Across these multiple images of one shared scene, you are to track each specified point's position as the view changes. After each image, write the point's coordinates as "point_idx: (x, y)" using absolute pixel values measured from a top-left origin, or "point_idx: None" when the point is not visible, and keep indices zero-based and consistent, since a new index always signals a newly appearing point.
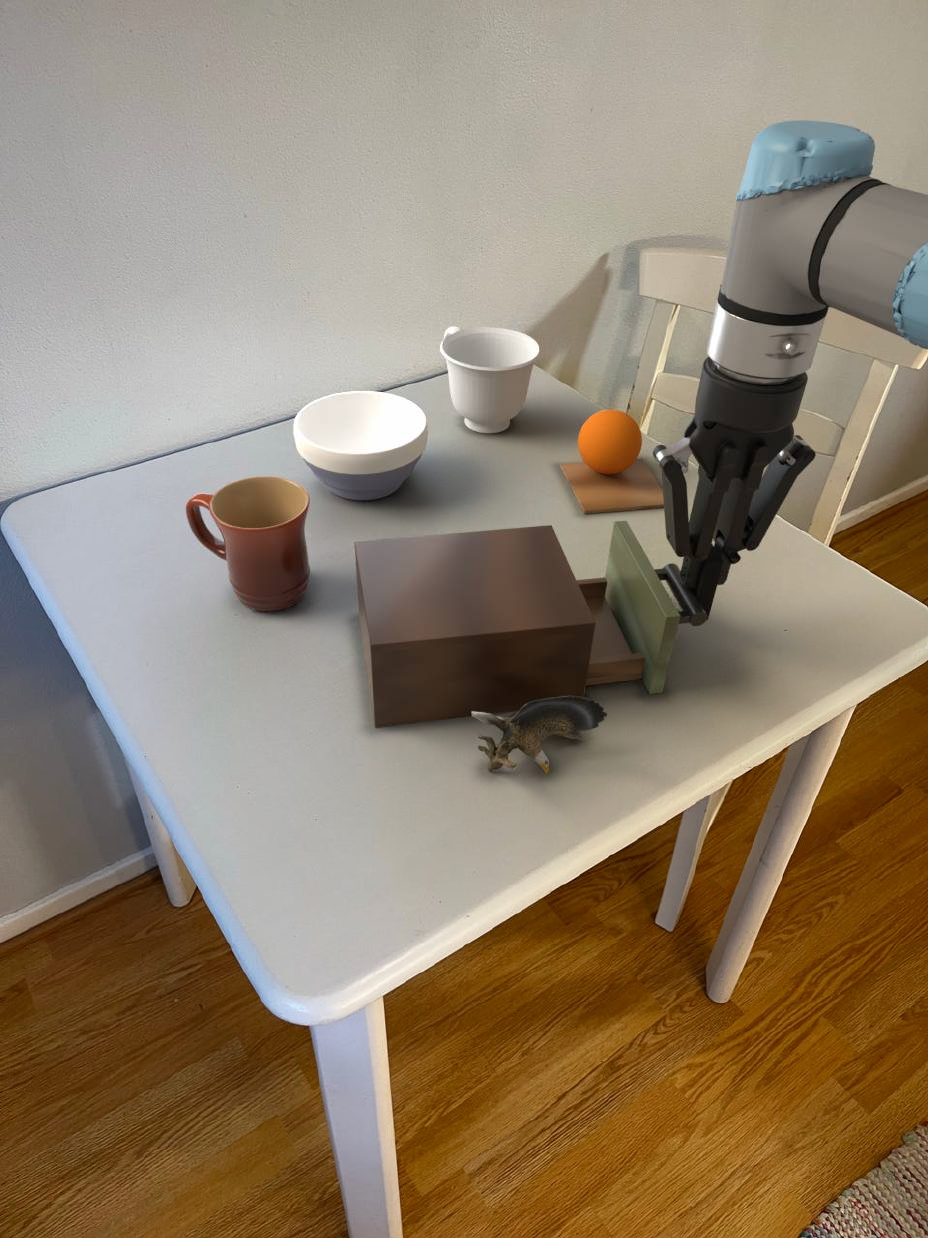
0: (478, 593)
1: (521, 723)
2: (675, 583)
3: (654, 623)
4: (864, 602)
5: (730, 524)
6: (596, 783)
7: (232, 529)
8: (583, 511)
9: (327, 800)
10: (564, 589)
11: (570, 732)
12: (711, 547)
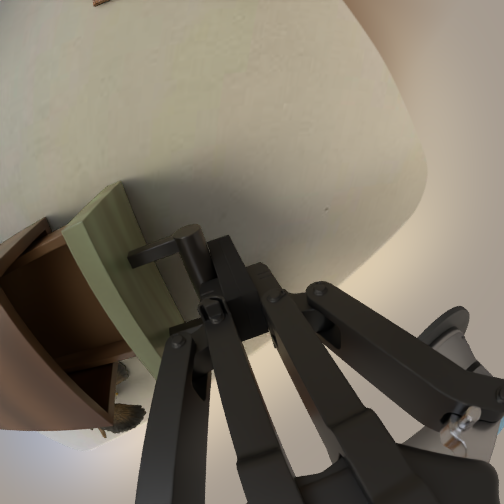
0: (4, 397)
1: None
2: (193, 280)
3: None
4: (404, 158)
5: (293, 381)
6: (149, 394)
7: None
8: (93, 3)
9: None
10: (62, 395)
11: (121, 376)
12: (255, 303)
